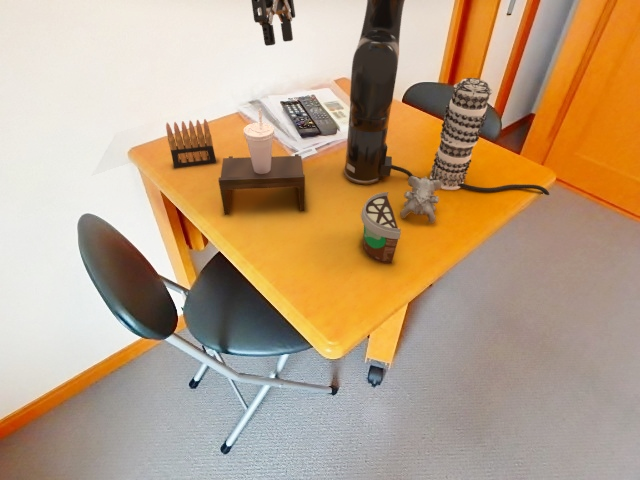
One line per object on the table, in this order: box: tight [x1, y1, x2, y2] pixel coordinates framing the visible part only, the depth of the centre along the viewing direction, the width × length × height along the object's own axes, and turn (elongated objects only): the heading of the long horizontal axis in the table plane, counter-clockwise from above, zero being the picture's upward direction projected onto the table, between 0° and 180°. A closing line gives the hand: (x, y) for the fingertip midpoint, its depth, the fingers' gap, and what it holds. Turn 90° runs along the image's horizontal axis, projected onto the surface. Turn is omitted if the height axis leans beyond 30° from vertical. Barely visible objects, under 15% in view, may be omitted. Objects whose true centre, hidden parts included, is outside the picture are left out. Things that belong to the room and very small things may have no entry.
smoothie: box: [243, 108, 275, 174], centre depth 84 cm, size 6×6×14 cm
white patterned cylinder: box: [429, 77, 494, 191], centre depth 93 cm, size 9×9×25 cm
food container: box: [360, 191, 402, 264], centre depth 79 cm, size 12×6×10 cm, turn 5°
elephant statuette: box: [399, 175, 442, 224], centre depth 90 cm, size 9×12×8 cm
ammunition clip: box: [165, 118, 217, 169], centre depth 100 cm, size 11×2×12 cm, turn 106°
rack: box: [218, 153, 306, 216], centre depth 94 cm, size 18×21×9 cm
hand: (279, 43), depth 87 cm, fingers open, 8 cm apart
